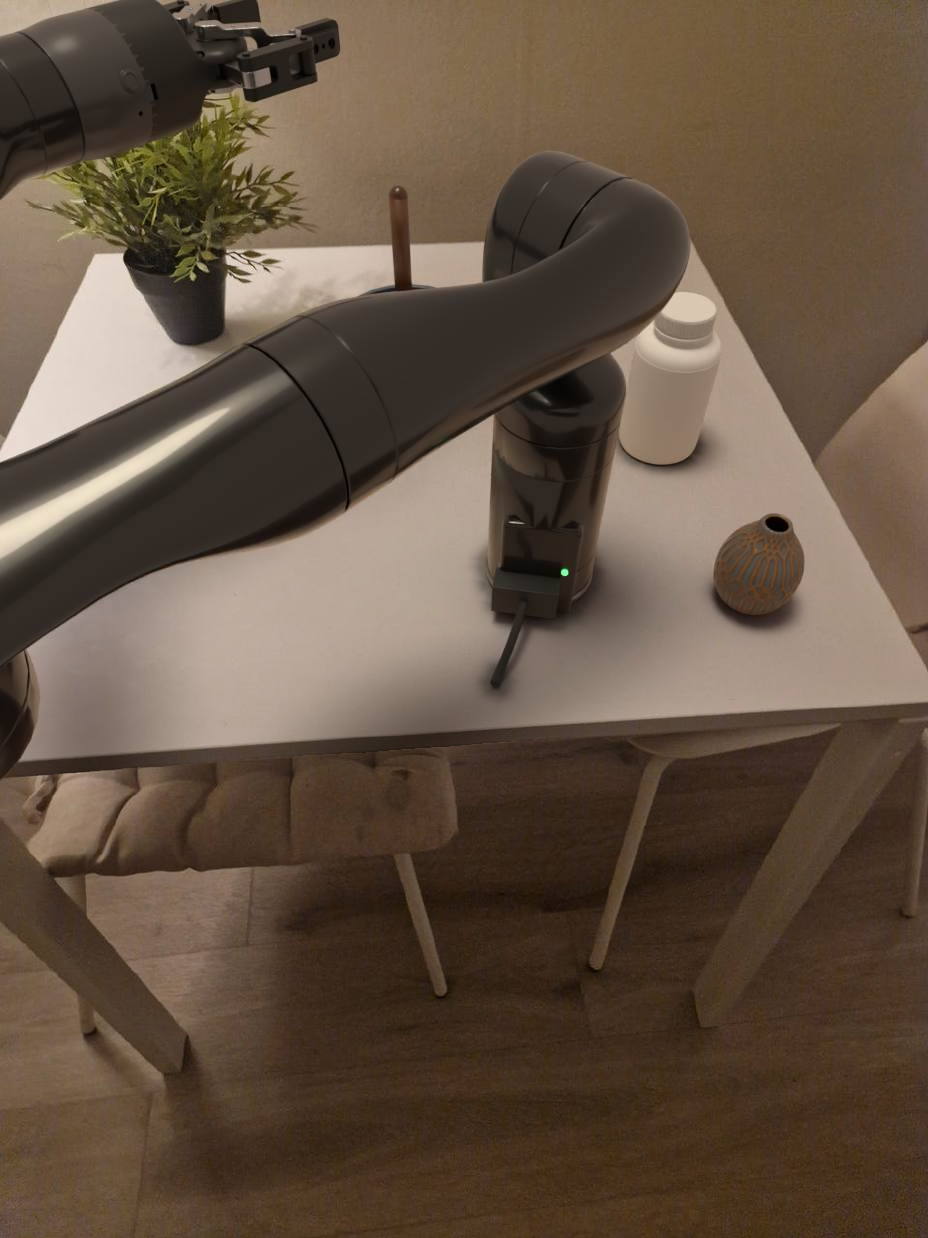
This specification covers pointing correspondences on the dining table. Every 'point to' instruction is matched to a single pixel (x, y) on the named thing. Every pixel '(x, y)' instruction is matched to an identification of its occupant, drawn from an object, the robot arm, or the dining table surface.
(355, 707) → the dining table surface
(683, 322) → the pill bottle
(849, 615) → the dining table surface
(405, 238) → the wooden peg stand
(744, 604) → the vase
